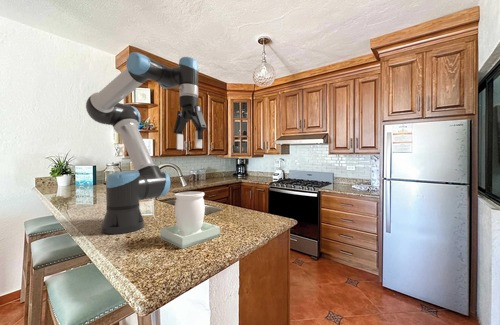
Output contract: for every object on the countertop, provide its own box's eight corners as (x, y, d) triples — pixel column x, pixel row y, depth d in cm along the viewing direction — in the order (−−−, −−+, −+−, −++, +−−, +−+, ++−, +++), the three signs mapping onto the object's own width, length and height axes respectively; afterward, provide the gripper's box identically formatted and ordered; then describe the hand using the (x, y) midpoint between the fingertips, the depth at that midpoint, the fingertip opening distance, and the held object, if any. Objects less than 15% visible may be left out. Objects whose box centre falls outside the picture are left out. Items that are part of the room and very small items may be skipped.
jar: (196, 240, 73) (196, 195, 73) (168, 238, 75) (168, 194, 75) (209, 230, 83) (209, 191, 83) (184, 229, 85) (184, 190, 85)
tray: (160, 238, 78) (160, 228, 78) (196, 228, 89) (196, 219, 89) (182, 249, 68) (182, 237, 68) (219, 236, 80) (219, 226, 80)
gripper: (165, 100, 95) (165, 149, 95) (199, 88, 79) (199, 146, 79) (180, 104, 101) (180, 150, 101) (215, 93, 84) (215, 147, 84)
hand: (189, 148), depth 90 cm, fingers open, 13 cm apart
